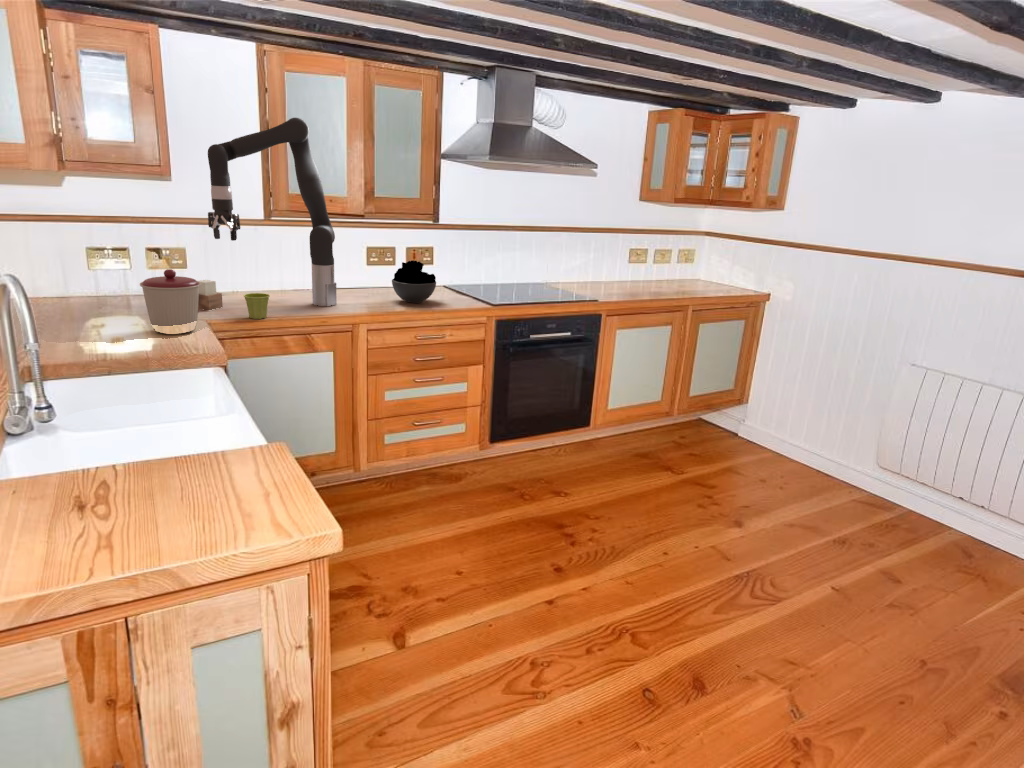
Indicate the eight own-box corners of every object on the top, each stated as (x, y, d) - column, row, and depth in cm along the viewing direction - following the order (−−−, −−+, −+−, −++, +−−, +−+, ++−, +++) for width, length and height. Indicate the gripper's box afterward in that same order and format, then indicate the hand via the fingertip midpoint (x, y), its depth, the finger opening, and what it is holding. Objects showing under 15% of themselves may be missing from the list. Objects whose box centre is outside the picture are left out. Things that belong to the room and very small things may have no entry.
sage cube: (216, 293, 258) (215, 281, 256) (205, 295, 253) (204, 282, 252) (207, 292, 260) (206, 279, 258) (196, 293, 255) (195, 281, 254)
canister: (133, 331, 218) (126, 268, 211) (183, 323, 232) (178, 264, 226) (165, 340, 209) (159, 275, 203) (215, 332, 224) (211, 270, 218)
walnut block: (222, 308, 261) (221, 293, 260) (209, 311, 254) (208, 296, 252) (205, 305, 263) (204, 291, 261) (191, 309, 256) (190, 294, 254)
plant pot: (243, 320, 243) (242, 297, 241) (245, 314, 252) (244, 292, 249) (270, 320, 246) (269, 297, 243) (271, 315, 254) (270, 293, 252)
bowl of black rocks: (427, 298, 312) (428, 258, 306) (441, 306, 295) (443, 264, 289) (386, 298, 303) (386, 258, 297) (399, 307, 286) (399, 264, 280)
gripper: (242, 198, 258) (246, 240, 263) (215, 196, 263) (219, 237, 268) (228, 199, 252) (232, 241, 256) (200, 197, 256) (204, 238, 261)
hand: (225, 239), depth 262 cm, fingers open, 8 cm apart
